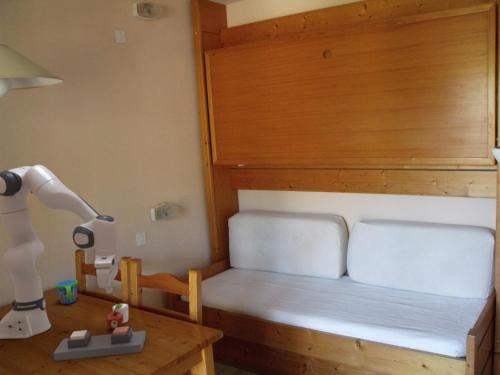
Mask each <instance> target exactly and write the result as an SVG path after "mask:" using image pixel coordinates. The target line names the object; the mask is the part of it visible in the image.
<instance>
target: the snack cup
mask: <svg viewBox="0 0 500 375" xmlns="http://www.w3.org/2000/svg"><path fill="white" fill-rule="evenodd" d="M78 284H79V282H78V280H77V279H66V280H60V281H58V282H56V283H55V284H54V285H55V289H56V291H57V295H58V298H59V302H60V304H62V305H70V304H72V303H75V302H77V296H78V295H77V294H78Z"/></svg>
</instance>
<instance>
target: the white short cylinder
mask: <svg viewBox="0 0 500 375" xmlns="http://www.w3.org/2000/svg"><path fill="white" fill-rule="evenodd" d="M121 304H122V305H123V306H122V307H121V308H119V309H117V310H116V311H115V312H120V313H121V314H122V315H123V322H122V324H125V323H127V322H128V321H129V304H128V303H121ZM116 305H117V304H115V305H113V306H112V308H111V309H112V313H113V312H114V310H115V306H116Z"/></svg>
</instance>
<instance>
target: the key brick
mask: <svg viewBox="0 0 500 375" xmlns="http://www.w3.org/2000/svg"><path fill="white" fill-rule="evenodd" d="M129 328H130V327H129V326H121V327H117V328H115V330H114V332H113V331H112V332H113V335H114V336H117V335H127V334H128V332H129Z"/></svg>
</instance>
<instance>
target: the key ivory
mask: <svg viewBox="0 0 500 375" xmlns="http://www.w3.org/2000/svg"><path fill="white" fill-rule="evenodd" d="M87 332H88V330H77V331H76V330H75V331H73V332H72V333H71V335H70V336H71V337H70V336H69V338H71V340H76V339H85V338H86V336H87Z"/></svg>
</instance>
